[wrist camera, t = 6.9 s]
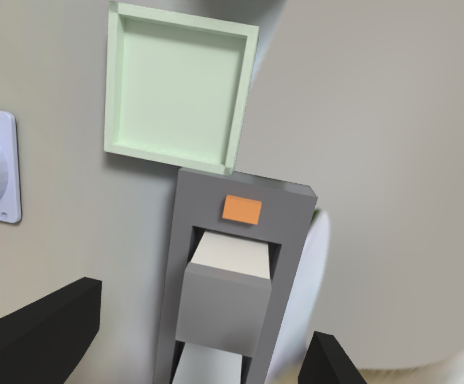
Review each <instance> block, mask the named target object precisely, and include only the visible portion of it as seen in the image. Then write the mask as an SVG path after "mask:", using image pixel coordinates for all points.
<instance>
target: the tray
mask: <svg viewBox="0 0 464 384" xmlns="http://www.w3.org/2000/svg"><path fill="white" fill-rule="evenodd" d="M258 39H259V26H253V25H247V24H241V23H235V22H230V21H224V20H218V19H212V18H206V17H200V16H195V15H189V14H183V13H177V12H171V11H165V10H159V9H154V8H148V7H142V6H136V5H130V4H124V3H118V2H113V1H109V23H108V50H107V78H106V106H105V133H104V151H107V152H112V153H117V154H122V155H127V156H132V157H137V158H142V159H147V160H152V161H157V162H162V163H167V164H172V165H177V166H182V167H187V168H192V169H197V170H202V171H207V172H212V173H217V174H222V175H227V176H232V175H233V172H234V169H235V164H236V158H237V153H238V147H239V142H240V136H241V131H242V126H243V120H244V115H245V110H246V104H247V99H248V94H249V88H250V83H251V77H252V72H253V67H254V61H255V56H256V50H257V45H258Z"/></svg>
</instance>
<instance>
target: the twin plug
mask: <svg viewBox="0 0 464 384" xmlns="http://www.w3.org/2000/svg"><path fill="white" fill-rule="evenodd" d="M241 365H242V355H239V354H235V353H231V352H226V351H222V350H217V349H213V348H209V347H204V346H200V345H196V344H191V343H187V342H186V343H185V346H184V349H183V352H182V355H181V358H180V361H179V364H178V367H177V370H176V373H175V376H174V379H173V382H172V384H240V378H241Z"/></svg>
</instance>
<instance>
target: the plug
mask: <svg viewBox="0 0 464 384" xmlns="http://www.w3.org/2000/svg"><path fill="white" fill-rule="evenodd" d="M271 291H272V285H271V279H270V273H269V256H268V241H264V240H259V239H255V238H250V237H245V236H240V235H235V234H231V233H226V232H221V231H216V230H212V229H207V228H206V230H205V233H204V235H203V237H202V239H201V241H200V243H199V245H198V247H197V249H196V251H195V254H194V256H193V258H192V260H191V262H189V263H188V265H187V267H186V269H185V273H184V280H183V287H182V294H181V301H180V308H179V315H178V322H177V329H176V336H175V340H178V341H182V342H187V343H191V344H196V345H200V346H204V347H209V348H213V349H217V350H222V351H226V352H231V353H235V354H239V355H244V356H248V357H252V358H254V357H255V353H256V349H257V345H258V341H259V337H260V333H261V330H262V326H263V322H264V318H265V314H266V310H267V306H268V303H269V299H270V295H271Z"/></svg>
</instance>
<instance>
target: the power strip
mask: <svg viewBox="0 0 464 384" xmlns="http://www.w3.org/2000/svg"><path fill="white" fill-rule="evenodd" d="M317 198H318V197H317V196H316V194H315V193H314V191H313V190H312V189H311V187H310V186H307V185H302V184H297V183H292V182H287V181H282V180H277V179H271V178H267V177H261V176H257V175H252V174H247V173H242V172H237V171H234V172H233V175H232V176H227V175H222V174H217V173H212V172H207V171H202V170H197V169H192V168H187V167H182V168H180V169H179V171H178V179H177V187H176V195H175V204H174V212H173V220H172V228H171V237H170V245H169V253H168V261H167V269H166V278H165V286H164V294H163V302H162V311H161V319H160V327H159V335H158V343H157V352H156V360H155V368H154V376H153V384H172V382H173V379H174V376H175V373H176V370H177V367H178V364H179V361H180V358H181V355H182V352H183V349H184V346H185V343H186V342H182V341H178V340H175V336H176V329H177V322H178V315H179V308H180V301H181V294H182V287H183V280H184V273H185V269H186V267H187V265H188V263H189V262H191V260H192V258H193V256H194V254H195V251H196V249H197V247H198V245H199V243H200V241H201V239H202V237H203V235H204V233H205V230H206V228H207V229H212V230H216V231H221V232H226V233H231V234H235V235H240V236H245V237H250V238H255V239H259V240H264V241H268V256H269V273H270V279H271V285H272V291H271V295H270V299H269V303H268V306H267V310H266V314H265V318H264V322H263V326H262V330H261V333H260V337H259V341H258V345H257V349H256V353H255V357H254V358H252V357H248V356H244V355H242V365H241V378H240V384H264V382H265V379H266V375H267V372H268V368H269V365H270V361H271V358H272V354H273V351H274V347H275V344H276V341H277V337H278V334H279V330H280V327H281V323H282V320H283V316H284V313H285V309H286V306H287V302H288V299H289V295H290V292H291V289H292V285H293V282H294V278H295V275H296V271H297V268H298V264H299V261H300V257H301V254H302V250H303V247H304V244H305V240H306V237H307V233H308V230H309V226H310V223H311V219H312V216H313V212H314V209H315V205H316V202H317Z"/></svg>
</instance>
